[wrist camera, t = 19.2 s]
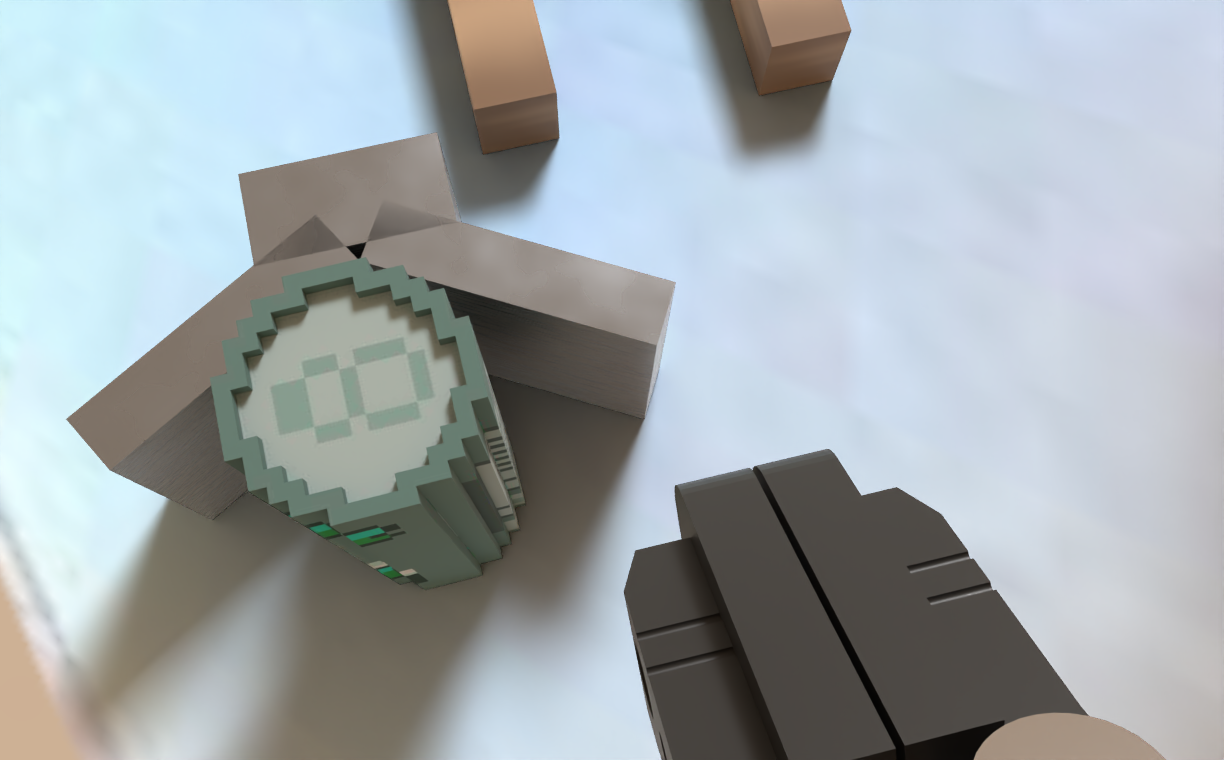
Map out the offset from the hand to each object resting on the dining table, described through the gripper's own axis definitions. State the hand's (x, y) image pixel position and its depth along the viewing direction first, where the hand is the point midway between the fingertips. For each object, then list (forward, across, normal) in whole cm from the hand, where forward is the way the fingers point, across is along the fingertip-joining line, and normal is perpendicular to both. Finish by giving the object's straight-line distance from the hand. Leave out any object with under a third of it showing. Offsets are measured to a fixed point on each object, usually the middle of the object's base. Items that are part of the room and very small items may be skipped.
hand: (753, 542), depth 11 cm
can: (+26, +6, +16) cm, 31 cm away
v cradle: (+30, +6, +12) cm, 33 cm away
